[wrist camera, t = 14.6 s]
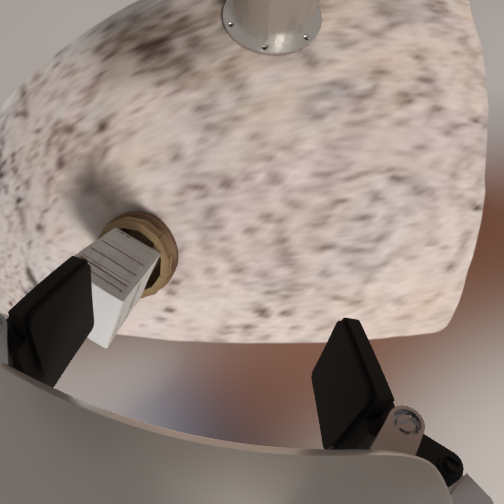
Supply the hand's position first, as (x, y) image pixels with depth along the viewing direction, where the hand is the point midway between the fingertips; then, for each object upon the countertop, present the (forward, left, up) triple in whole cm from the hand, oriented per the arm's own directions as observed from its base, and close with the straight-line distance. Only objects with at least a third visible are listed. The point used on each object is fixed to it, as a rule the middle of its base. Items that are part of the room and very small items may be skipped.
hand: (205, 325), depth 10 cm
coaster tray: (+11, -13, -28) cm, 33 cm away
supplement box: (+11, -13, -25) cm, 30 cm away
